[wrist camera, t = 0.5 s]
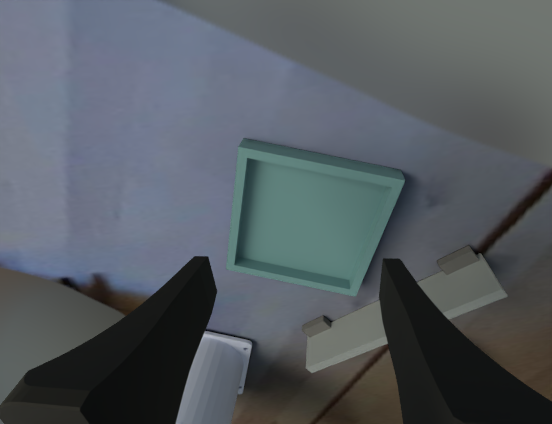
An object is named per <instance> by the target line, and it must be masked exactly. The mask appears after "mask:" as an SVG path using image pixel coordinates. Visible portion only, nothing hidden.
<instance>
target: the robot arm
mask: <svg viewBox="0 0 552 424" xmlns="http://www.w3.org/2000/svg"><path fill="white" fill-rule="evenodd" d="M216 294H217V289H216V285H215V281H214V277H213V273H212V270H211V266H210V262H209V258H208V257H207V256H195V257H193V258H192V259H191V260H190V261H189V262H188V263H187V264H186V265H185V266H184V267H183V268H182V269H181V270H180V271H179V272H178V273H176V274H175V275H174V276H173V277H172V278H171V279H170V280H169V281H168V282H167V283H166V284H165V285H164V286H163V287H161V288H160V289H159V290H158V291H157V292H156V293H154V294H153V295H152V296H151V297H150V298H149V299H147V300H146V301H145V302H144V303H143V304H141V305H140V306H139V307H138V308H136V309H135V310H134V311H132V312H131V313H130V314H128V315H127V316H126V317H124V318H123V319H121V320H120V321H119V322H117V323H116V324H114V325H113V326H111V327H109V328H108V329H106V330H105V331H103V332H102V333H100V334H98V335H97V336H95V337H94V338H92V339H90V340H89V341H87V342H85V343H83V344H82V345H80V346H78V347H76V348H75V349H72V350H70V351H69V352H67V353H65V354H63V355H61V356H59V357H57V358H55V359H53V360H51V361H48V362H46V363H44V364H42V365H40V366H38V367H36V368H34V369H31V370H29V371H28V372H27V373H26V374H25V375H24V377H23V378H22V379H21V380H20V381H19V383H18V384H17V385H16V387H15V388H14V389H13V390H12V391H11V393H10V394H9V395H8V396H7V398H6V399H5V400H4V401H3V402H2V404H1V405H0V419H1V420H2V421H3V423H4V424H231V421H232V417H233V412H234V408H235V403H236V399H237V395H238V394H242V393H243V389H244V384H245V379H246V374H247V369H248V363H249V358H250V353H251V348H252V342H251V341H250V340H246V339H241V338H237V337H232V336H227V335H223V334H218V333H214V332H209V331H205V329H206V327H207V324H208V322H209V319H210V316H211V314H212V310H213V306H214V302H215V298H216ZM379 299H380V307H381V315H382V321H383V326H384V330H385V334H386V338H387V342H388V346H389V350H390V354H391V358H392V362H393V366H394V370H395V374H396V379H397V384H398V390H399V397H400V404H401V410H402V417H403V424H552V402H551V401H550V400H548V399H547V398H545V397H544V396H542V395H541V394H539V393H538V392H536V391H535V390H533V389H532V388H530V387H529V386H527V385H526V384H524V383H523V382H521V381H520V380H519V379H517V378H516V377H515V376H513V375H512V374H510V373H509V372H508V371H506V370H505V369H504V368H502V367H501V366H500V365H499V364H497V363H496V362H495V361H494V360H492V359H491V358H490V357H489V356H487V355H486V354H485V353H484V352H483V351H481V350H480V349H479V348H478V347H477V346H475V345H474V344H473V343H472V342H471V341H470V340H469V339H468V338H467V337H466V336H464V335H463V334H462V333H461V332H460V331H459V330H458V329H457V328H456V327H455V326H454V325H453V324H452V323H451V322H450V321H449V320H448V319H447V318H446V317H445V315H444V314H443V313H442V312H441V311H440V310H439V309H438V308H437V307H436V305H435V304H434V303H433V302H432V301H431V300H430V298H429V297H428V296H427V295H426V293H425V292H424V291H423V290H422V289H421V287H420V286H419V285H418V283H417V282H416V281H415V279H414V278H413V277H412V275H411V274H410V272H409V271H408V270H407V268H406V267H405V265H404V264H403V262H402V261H401V260H400V259H385V258H383V263H382V273H381V282H380V292H379Z"/></svg>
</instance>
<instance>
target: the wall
mask: <svg viewBox="0 0 552 424" xmlns="http://www.w3.org/2000/svg"><path fill="white" fill-rule="evenodd" d="M437 262H438V265H439V267H440V268H441V269H442V270H443V271H441V272H438V273H436V274H434V275H432V276H430V277H428V278H426V279H423V280H421V281H419V282H417V283H418V285H419V286H420V287H421V289H422V290H423V291H424V292H425V293H426V295H427V296H428V297H429V298H430V300H431V301H432V302H433V303H434V304H435V305H436V307H437V308H438V309H439V310H440V311H441V312H442V313H443V314H444V315H445V317H446V318H447V319H448V320H449V319H451V318H454V317H456V316H459V315H462V314H464V313H467V312H469V311H472V310H474V309H477V308H479V307H482V306H485V305H487V304H490V303H492V302H495V301H497V300H500V299H502V298H505V297H508V295H507V293H506V292H505V290H504V289H503V287H502V285H501V284H500V282H499V281H498V279H497V277H496V276H495V274H494V272H493V271H492V269H491V268H490V266H489V264H488V263H487V261H486V260H485V258H484V257H483V256H482V254H481V253H479V254H477V255H476V254H475V253H474V251H473V250H472V249H471V247H470V246H469V245H468V246H466V247H464V248H462V249H460V250H458V251H456V252H454V253H452V254H450V255H448V256H446V257H443V258H441V259H439V260H437ZM302 331H303V332H304V333H305V334H306V335H307V336H308V337H307V355H306V369H307V370H309V371H310V372H311V373H313V372H316V371H319V370H321V369H324V368H326V367H329V366H331V365H334V364H336V363H339V362H342V361H344V360H347V359H349V358H352V357H354V356H357V355H359V354H362V353H365V352H367V351H370V350H372V349H375V348H377V347H380V346H382V345H385V344H388V342H387V338H386V334H385V330H384V326H383V321H382V315H381V307H380V300H378V301H376V302H374V303H372V304H370V305H367V306H365V307H363V308H361V309H359V310H357V311H355V312H352V313H350V314H348V315H346V316H344V317H342V318H339V319H337V320H335V321H333V322H330V321H329V320H328V319H327V318H326V317H324V316H321V317H319V318H317V319H315V320H313V321H311V322H309V323H307V324H305V325H303V326H302Z"/></svg>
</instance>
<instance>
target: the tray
mask: <svg viewBox="0 0 552 424" xmlns="http://www.w3.org/2000/svg"><path fill="white" fill-rule="evenodd" d="M404 183H405V179H404V176H403V174H402V172H401V170H399V169H394V168H389V167H384V166H379V165H374V164H369V163H364V162H359V161H354V160H349V159H344V158H339V157H334V156H329V155H325V154H320V153H315V152H310V151H305V150H300V149H295V148H290V147H285V146H280V145H275V144H270V143H265V142H260V141H255V140H250V139H245V138H244V139H243V140H242V142H241V143H240V145H239V147H238V156H237V166H236V176H235V186H234V196H233V205H232V215H231V225H230V235H229V244H228V254H227V264H226V269H227V270H232V271H236V272H241V273H246V274H251V275H255V276H260V277H265V278H270V279H274V280H279V281H284V282H289V283H293V284H298V285H303V286H308V287H312V288H317V289H322V290H327V291H331V292H336V293H341V294H346V295H350V296H355V297H356V295H357V292H358V290H359V288H360V285H361V283H362V281H363V278H364V276H365V274H366V271H367V269H368V267H369V264H370V262H371V260H372V257H373V255H374V253H375V250H376V248H377V246H378V243H379V241H380V239H381V236H382V234H383V232H384V229H385V227H386V225H387V222H388V220H389V218H390V215H391V213H392V211H393V208H394V206H395V204H396V201H397V199H398V197H399V194H400V192H401V190H402V187H403V185H404Z"/></svg>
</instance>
